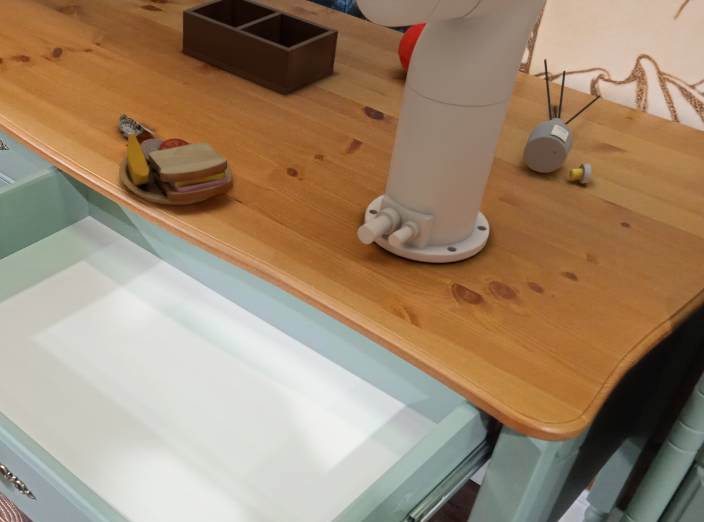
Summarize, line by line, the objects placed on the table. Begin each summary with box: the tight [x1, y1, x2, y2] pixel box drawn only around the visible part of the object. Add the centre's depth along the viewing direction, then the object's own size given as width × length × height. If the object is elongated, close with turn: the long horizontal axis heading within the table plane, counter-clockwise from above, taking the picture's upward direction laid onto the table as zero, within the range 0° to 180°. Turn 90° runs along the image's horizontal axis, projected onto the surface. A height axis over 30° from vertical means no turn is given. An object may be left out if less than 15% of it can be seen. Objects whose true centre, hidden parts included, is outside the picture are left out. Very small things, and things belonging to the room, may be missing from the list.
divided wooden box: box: [182, 0, 339, 96], centre depth 118 cm, size 10×19×6 cm, turn 44°
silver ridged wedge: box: [118, 113, 156, 138], centre depth 104 cm, size 6×2×3 cm
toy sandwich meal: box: [118, 134, 234, 206], centre depth 94 cm, size 12×14×5 cm
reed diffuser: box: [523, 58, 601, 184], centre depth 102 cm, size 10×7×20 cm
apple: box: [397, 23, 427, 74], centre depth 114 cm, size 8×8×7 cm
